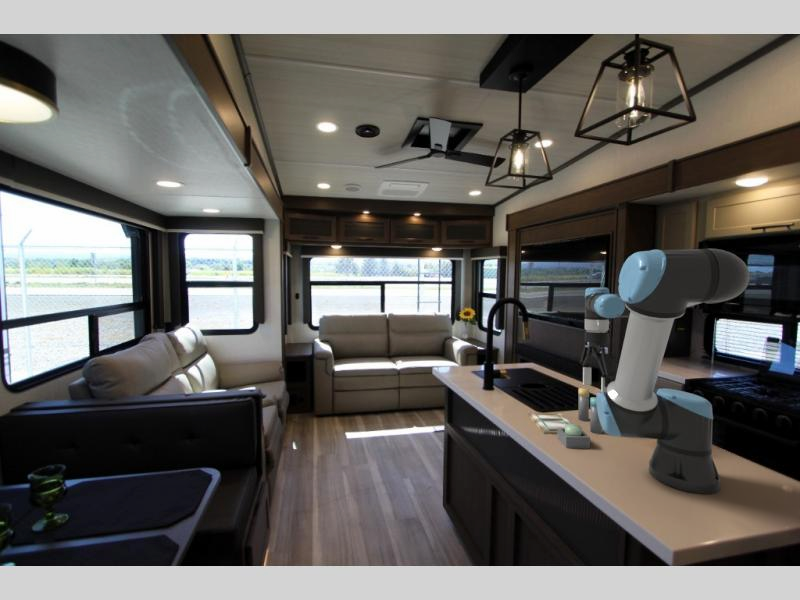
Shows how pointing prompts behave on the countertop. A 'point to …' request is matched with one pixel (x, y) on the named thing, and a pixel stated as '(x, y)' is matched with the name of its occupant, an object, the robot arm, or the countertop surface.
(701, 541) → the countertop surface
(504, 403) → the countertop surface
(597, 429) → the teal marker
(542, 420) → the double window tray
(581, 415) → the ochre marker
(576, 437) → the button housing
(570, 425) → the button
